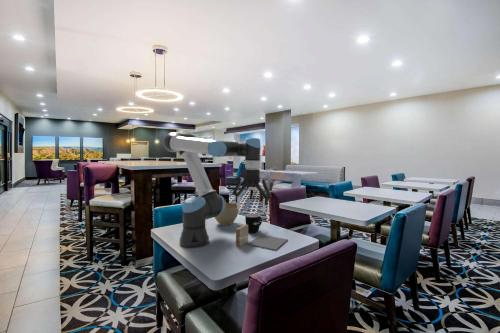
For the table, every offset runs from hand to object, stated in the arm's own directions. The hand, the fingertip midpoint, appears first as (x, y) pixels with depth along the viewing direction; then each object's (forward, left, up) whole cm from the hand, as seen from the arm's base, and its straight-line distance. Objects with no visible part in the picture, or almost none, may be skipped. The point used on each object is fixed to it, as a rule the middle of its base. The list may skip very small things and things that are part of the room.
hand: (251, 210), depth 126 cm
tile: (-5, -1, -18) cm, 19 cm away
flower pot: (-33, +24, -18) cm, 45 cm away
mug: (-9, +20, -18) cm, 29 cm away
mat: (+6, +7, -18) cm, 21 cm away
